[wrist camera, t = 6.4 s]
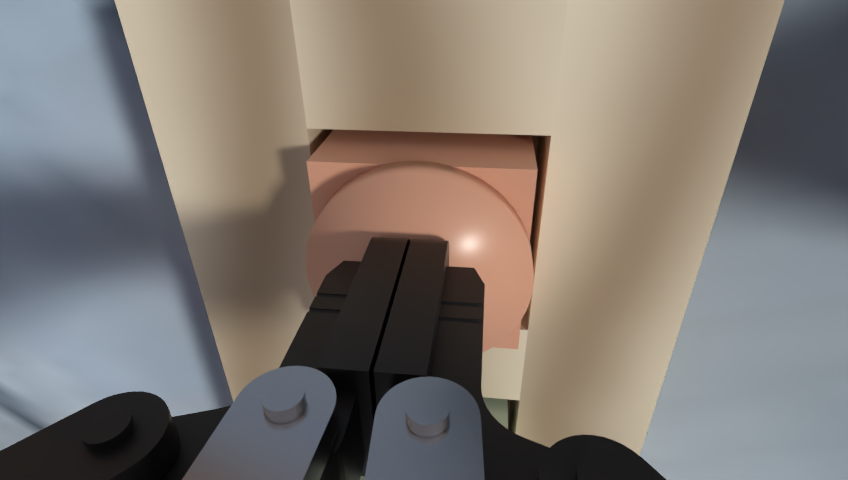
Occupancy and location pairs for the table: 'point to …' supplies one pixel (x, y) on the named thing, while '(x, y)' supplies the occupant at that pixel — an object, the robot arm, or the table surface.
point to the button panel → (465, 113)
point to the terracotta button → (431, 208)
